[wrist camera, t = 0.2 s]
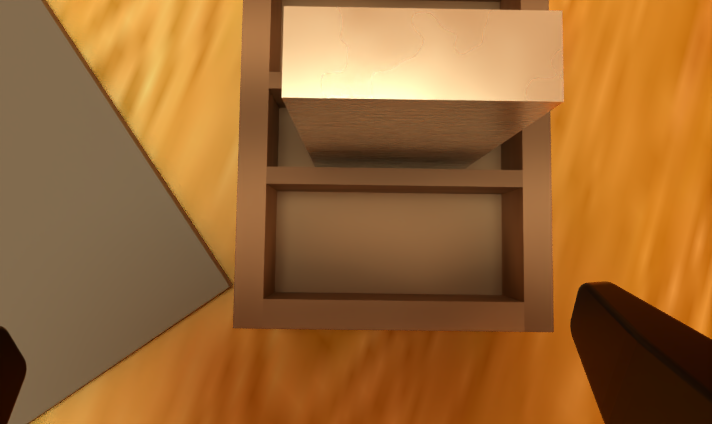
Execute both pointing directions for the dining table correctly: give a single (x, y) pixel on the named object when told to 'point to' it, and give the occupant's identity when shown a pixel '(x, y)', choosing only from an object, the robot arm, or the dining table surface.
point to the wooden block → (417, 82)
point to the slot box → (384, 217)
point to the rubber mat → (81, 220)
